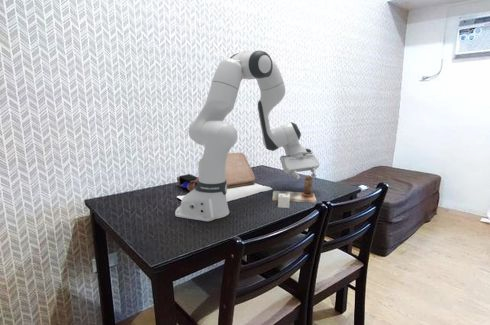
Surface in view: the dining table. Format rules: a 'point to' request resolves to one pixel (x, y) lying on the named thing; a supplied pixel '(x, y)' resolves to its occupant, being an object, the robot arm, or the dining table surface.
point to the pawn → (307, 187)
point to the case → (238, 171)
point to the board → (295, 196)
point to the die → (283, 200)
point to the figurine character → (186, 181)
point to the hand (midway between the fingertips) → (307, 178)
